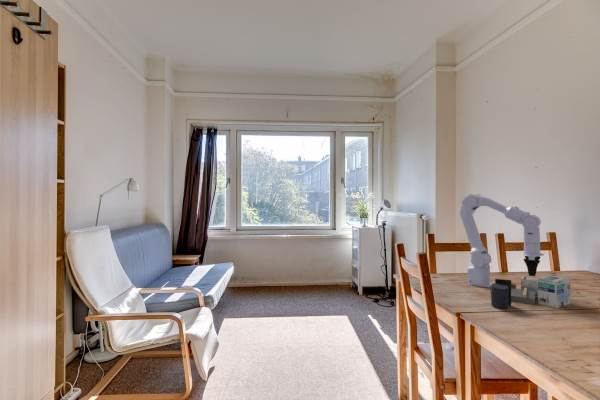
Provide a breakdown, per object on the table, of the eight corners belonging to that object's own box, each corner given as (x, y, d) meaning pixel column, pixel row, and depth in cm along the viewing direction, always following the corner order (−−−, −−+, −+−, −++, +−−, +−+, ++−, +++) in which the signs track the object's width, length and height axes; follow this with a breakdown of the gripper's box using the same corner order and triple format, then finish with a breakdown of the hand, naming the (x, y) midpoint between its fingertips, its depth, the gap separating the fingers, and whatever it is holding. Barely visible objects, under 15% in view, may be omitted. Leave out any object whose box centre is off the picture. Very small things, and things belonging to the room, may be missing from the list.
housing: (521, 292, 140) (520, 278, 140) (521, 290, 144) (521, 276, 144) (544, 295, 135) (543, 280, 135) (544, 293, 139) (543, 278, 139)
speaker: (494, 301, 129) (495, 276, 128) (511, 305, 125) (511, 279, 124) (488, 307, 124) (488, 282, 123) (505, 312, 120) (506, 285, 119)
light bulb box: (557, 309, 120) (557, 280, 120) (537, 304, 126) (537, 277, 126) (571, 304, 125) (571, 277, 125) (551, 300, 131) (551, 273, 131)
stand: (492, 299, 133) (492, 290, 133) (496, 292, 143) (496, 284, 143) (534, 305, 125) (534, 296, 125) (535, 297, 134) (535, 289, 134)
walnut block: (504, 290, 144) (504, 283, 144) (505, 288, 147) (505, 281, 147) (515, 291, 141) (515, 284, 141) (516, 289, 145) (516, 282, 145)
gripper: (543, 245, 131) (544, 278, 131) (543, 241, 143) (543, 272, 143) (522, 244, 135) (523, 276, 135) (524, 240, 147) (524, 270, 147)
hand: (532, 274), depth 139 cm, fingers open, 7 cm apart
